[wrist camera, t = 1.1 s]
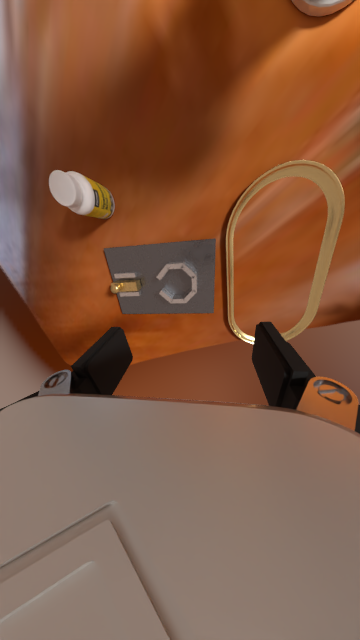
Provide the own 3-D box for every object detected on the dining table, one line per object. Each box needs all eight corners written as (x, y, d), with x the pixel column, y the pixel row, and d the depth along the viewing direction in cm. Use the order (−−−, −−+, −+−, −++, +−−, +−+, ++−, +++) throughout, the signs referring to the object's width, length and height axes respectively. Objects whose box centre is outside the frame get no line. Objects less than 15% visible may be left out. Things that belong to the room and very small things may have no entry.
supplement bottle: (120, 215, 30) (87, 206, 22) (97, 222, 31) (57, 217, 23) (108, 180, 28) (66, 156, 19) (84, 190, 29) (34, 170, 21)
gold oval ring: (227, 343, 42) (228, 347, 41) (223, 182, 26) (224, 179, 25) (304, 339, 38) (308, 343, 37) (354, 147, 22) (364, 141, 21)
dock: (106, 248, 34) (96, 249, 31) (215, 238, 30) (216, 238, 27) (124, 312, 41) (118, 318, 38) (213, 311, 37) (213, 317, 34)
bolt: (116, 280, 36) (106, 285, 32) (139, 279, 35) (132, 284, 31) (118, 288, 37) (109, 294, 33) (141, 287, 36) (134, 293, 32)
